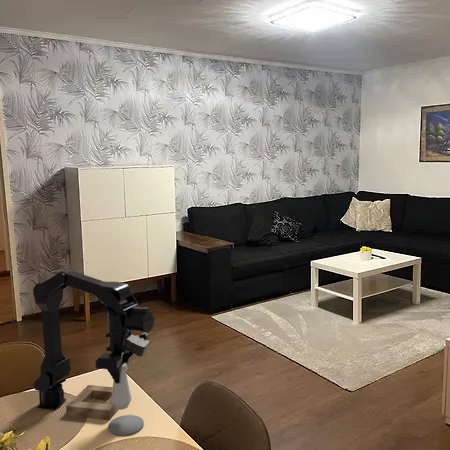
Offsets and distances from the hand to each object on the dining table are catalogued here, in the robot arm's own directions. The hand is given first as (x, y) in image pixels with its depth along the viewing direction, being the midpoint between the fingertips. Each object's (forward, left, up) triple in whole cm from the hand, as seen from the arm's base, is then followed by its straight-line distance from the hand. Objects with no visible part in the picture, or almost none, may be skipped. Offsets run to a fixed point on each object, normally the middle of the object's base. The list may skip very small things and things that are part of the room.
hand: (120, 380), depth 135 cm
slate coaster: (+2, -2, -13) cm, 13 cm away
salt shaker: (0, 0, -8) cm, 8 cm away
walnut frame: (-11, +7, -13) cm, 18 cm away
